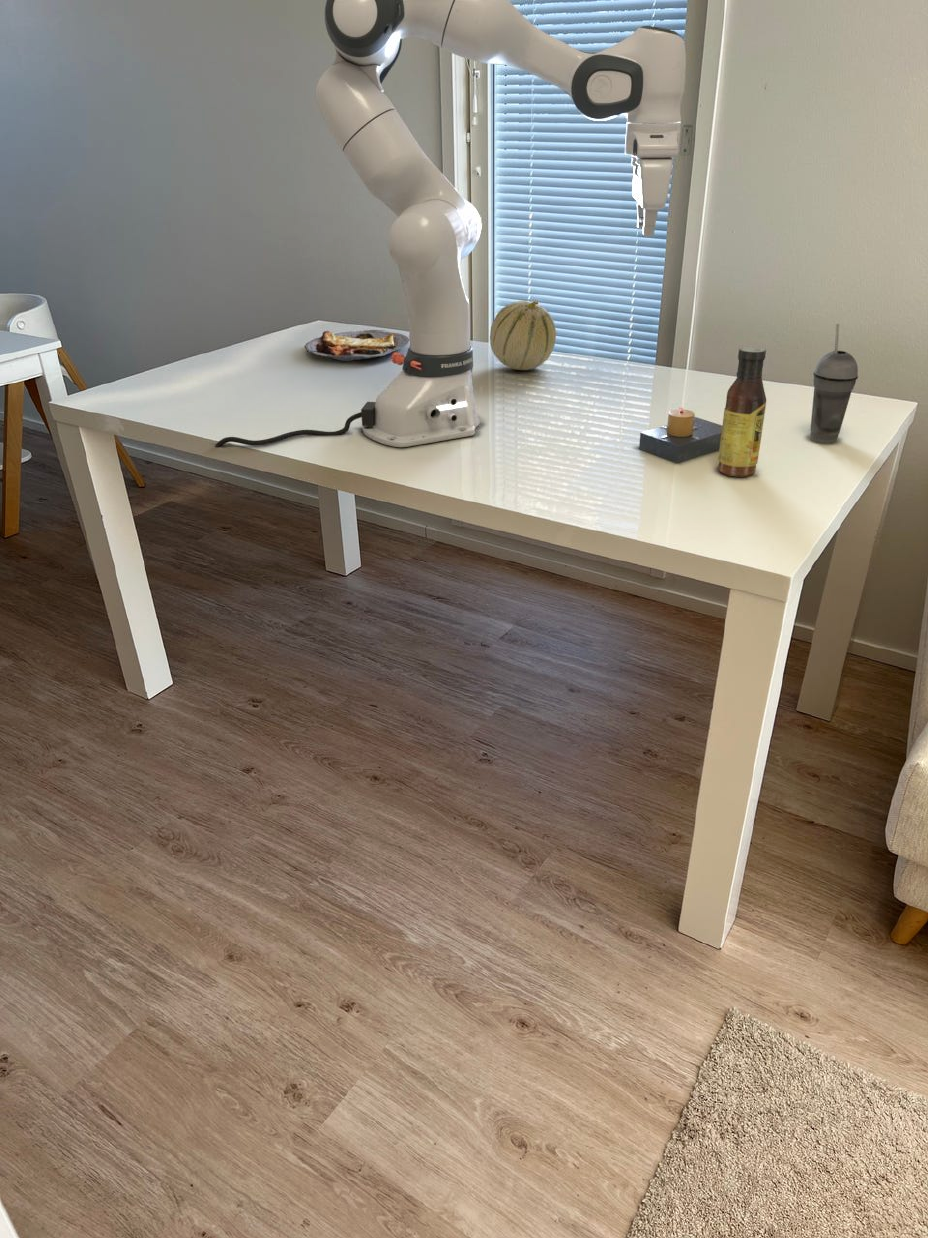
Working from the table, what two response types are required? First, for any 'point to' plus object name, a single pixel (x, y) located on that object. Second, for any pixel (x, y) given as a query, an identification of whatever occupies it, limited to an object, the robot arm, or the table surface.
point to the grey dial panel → (682, 441)
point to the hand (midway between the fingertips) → (645, 232)
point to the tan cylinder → (680, 423)
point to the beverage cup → (832, 393)
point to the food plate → (356, 344)
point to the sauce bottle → (743, 416)
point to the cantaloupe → (523, 335)
